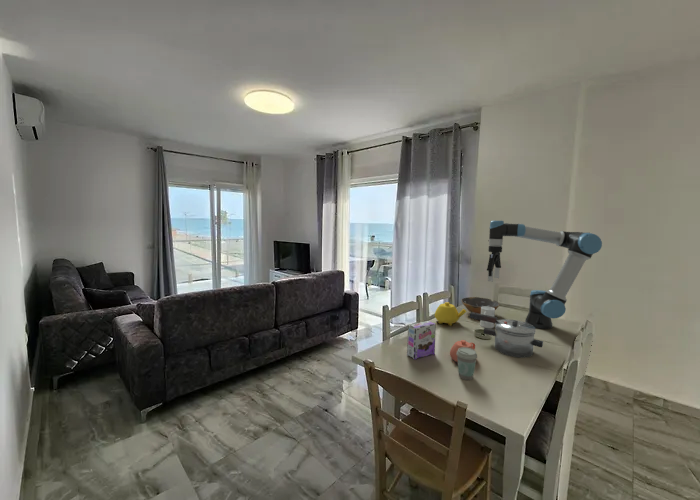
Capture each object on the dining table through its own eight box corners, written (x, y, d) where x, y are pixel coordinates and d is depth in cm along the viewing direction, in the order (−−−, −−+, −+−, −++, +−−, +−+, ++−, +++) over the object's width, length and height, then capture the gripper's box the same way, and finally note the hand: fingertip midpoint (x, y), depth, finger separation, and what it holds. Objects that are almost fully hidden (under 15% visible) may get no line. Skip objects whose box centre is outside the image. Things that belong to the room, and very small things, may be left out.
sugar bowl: (444, 357, 153) (445, 337, 151) (466, 352, 158) (467, 333, 157) (461, 368, 141) (462, 347, 140) (484, 363, 146) (485, 343, 145)
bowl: (454, 314, 219) (455, 301, 218) (470, 307, 236) (471, 295, 235) (489, 323, 201) (490, 309, 200) (504, 315, 218) (505, 301, 216)
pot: (544, 351, 160) (546, 329, 159) (538, 363, 146) (540, 340, 145) (488, 337, 178) (489, 317, 177) (478, 347, 164) (479, 326, 163)
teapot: (467, 322, 203) (468, 302, 201) (463, 329, 190) (464, 308, 188) (438, 317, 213) (438, 298, 212) (431, 323, 200) (432, 303, 199)
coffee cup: (452, 372, 138) (453, 347, 137) (470, 371, 139) (471, 346, 137) (460, 382, 129) (461, 355, 128) (479, 381, 130) (481, 355, 129)
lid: (538, 326, 161) (539, 320, 161) (531, 337, 147) (531, 330, 146) (476, 314, 182) (476, 308, 182) (464, 322, 168) (464, 315, 167)
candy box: (414, 360, 149) (415, 328, 148) (406, 355, 155) (407, 324, 153) (435, 354, 156) (436, 323, 154) (427, 349, 161) (428, 320, 159)
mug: (488, 330, 188) (489, 312, 187) (475, 327, 194) (476, 308, 193) (496, 326, 196) (497, 308, 195) (483, 322, 202) (484, 305, 201)
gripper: (494, 243, 197) (492, 275, 200) (482, 246, 179) (480, 281, 181) (507, 244, 193) (505, 277, 195) (496, 247, 174) (494, 283, 176)
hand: (493, 279), depth 188 cm, fingers open, 13 cm apart
